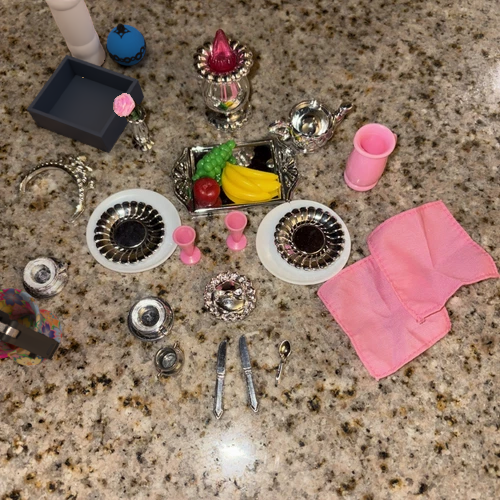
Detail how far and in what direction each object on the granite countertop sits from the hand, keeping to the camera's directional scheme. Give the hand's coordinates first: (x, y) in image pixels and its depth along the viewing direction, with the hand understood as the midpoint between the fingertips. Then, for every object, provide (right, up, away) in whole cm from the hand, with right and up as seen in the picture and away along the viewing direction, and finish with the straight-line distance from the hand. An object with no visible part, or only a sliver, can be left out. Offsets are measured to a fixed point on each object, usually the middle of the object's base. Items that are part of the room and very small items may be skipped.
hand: (26, 337), depth 72 cm
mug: (-1, -1, +2) cm, 2 cm away
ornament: (+6, +56, +40) cm, 69 cm away
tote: (-2, +43, +35) cm, 55 cm away
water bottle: (-4, +56, +40) cm, 69 cm away
